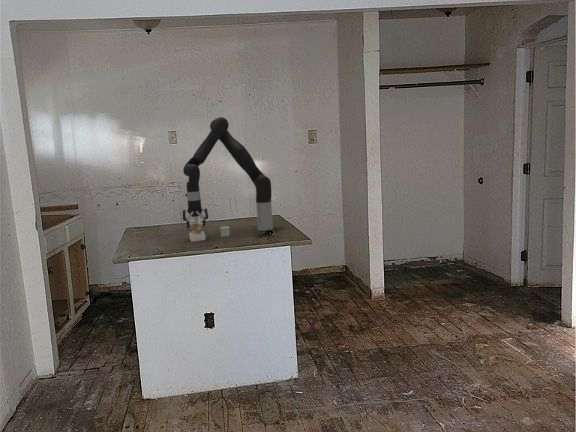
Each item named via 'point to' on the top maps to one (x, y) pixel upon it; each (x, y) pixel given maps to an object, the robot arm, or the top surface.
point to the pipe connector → (196, 221)
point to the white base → (197, 236)
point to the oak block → (196, 228)
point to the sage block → (225, 231)
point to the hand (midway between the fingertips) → (196, 226)
